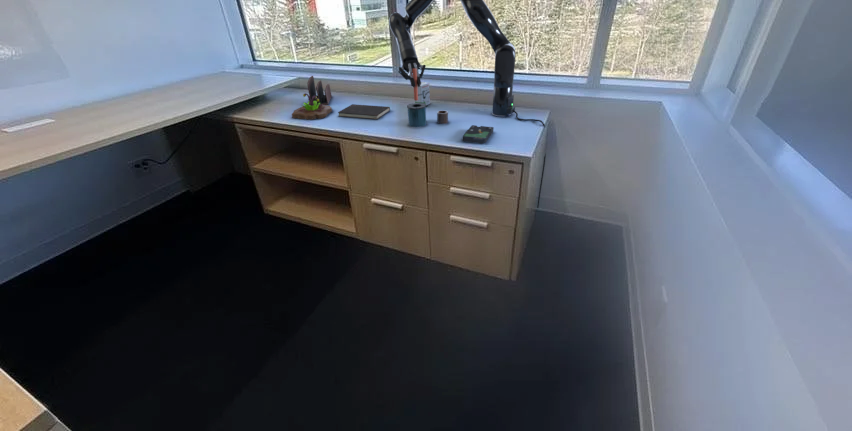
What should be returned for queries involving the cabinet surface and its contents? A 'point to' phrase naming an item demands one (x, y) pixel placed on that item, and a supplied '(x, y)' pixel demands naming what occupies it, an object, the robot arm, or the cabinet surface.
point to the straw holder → (442, 117)
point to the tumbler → (417, 117)
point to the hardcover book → (364, 111)
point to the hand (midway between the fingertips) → (416, 85)
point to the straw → (415, 84)
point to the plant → (311, 110)
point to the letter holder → (319, 92)
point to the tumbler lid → (416, 107)
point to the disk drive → (477, 134)
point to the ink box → (423, 93)
